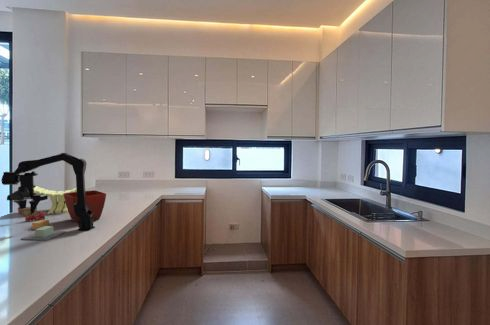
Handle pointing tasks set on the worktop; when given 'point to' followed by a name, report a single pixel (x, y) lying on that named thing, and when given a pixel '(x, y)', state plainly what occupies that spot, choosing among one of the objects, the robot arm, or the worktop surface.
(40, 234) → the baseplate
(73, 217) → the plant pot
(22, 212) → the walnut brick
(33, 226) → the orange brick
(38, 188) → the slatted curved stool
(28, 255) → the worktop surface
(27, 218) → the toy fire truck
